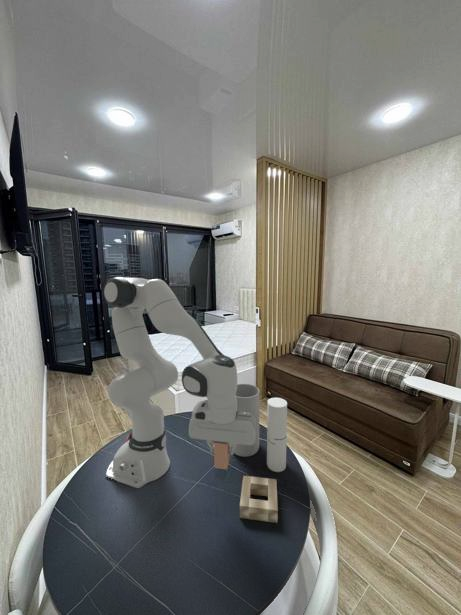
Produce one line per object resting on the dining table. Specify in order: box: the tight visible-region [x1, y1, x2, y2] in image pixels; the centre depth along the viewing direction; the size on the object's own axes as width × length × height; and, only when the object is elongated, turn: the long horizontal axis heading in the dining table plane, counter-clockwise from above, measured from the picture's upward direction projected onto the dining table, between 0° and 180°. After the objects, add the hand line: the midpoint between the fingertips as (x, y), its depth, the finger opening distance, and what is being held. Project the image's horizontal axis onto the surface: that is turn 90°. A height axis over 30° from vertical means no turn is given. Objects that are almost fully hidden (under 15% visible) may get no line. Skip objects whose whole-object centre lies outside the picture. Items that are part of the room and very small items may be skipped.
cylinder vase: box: [230, 383, 261, 457], centre depth 100 cm, size 12×12×25 cm
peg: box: [213, 441, 230, 470], centre depth 74 cm, size 4×4×8 cm
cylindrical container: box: [266, 397, 288, 473], centre depth 90 cm, size 7×7×25 cm
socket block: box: [239, 475, 279, 524], centre depth 76 cm, size 11×11×4 cm
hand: (222, 452), depth 74 cm, fingers closed on peg, 4 cm apart
